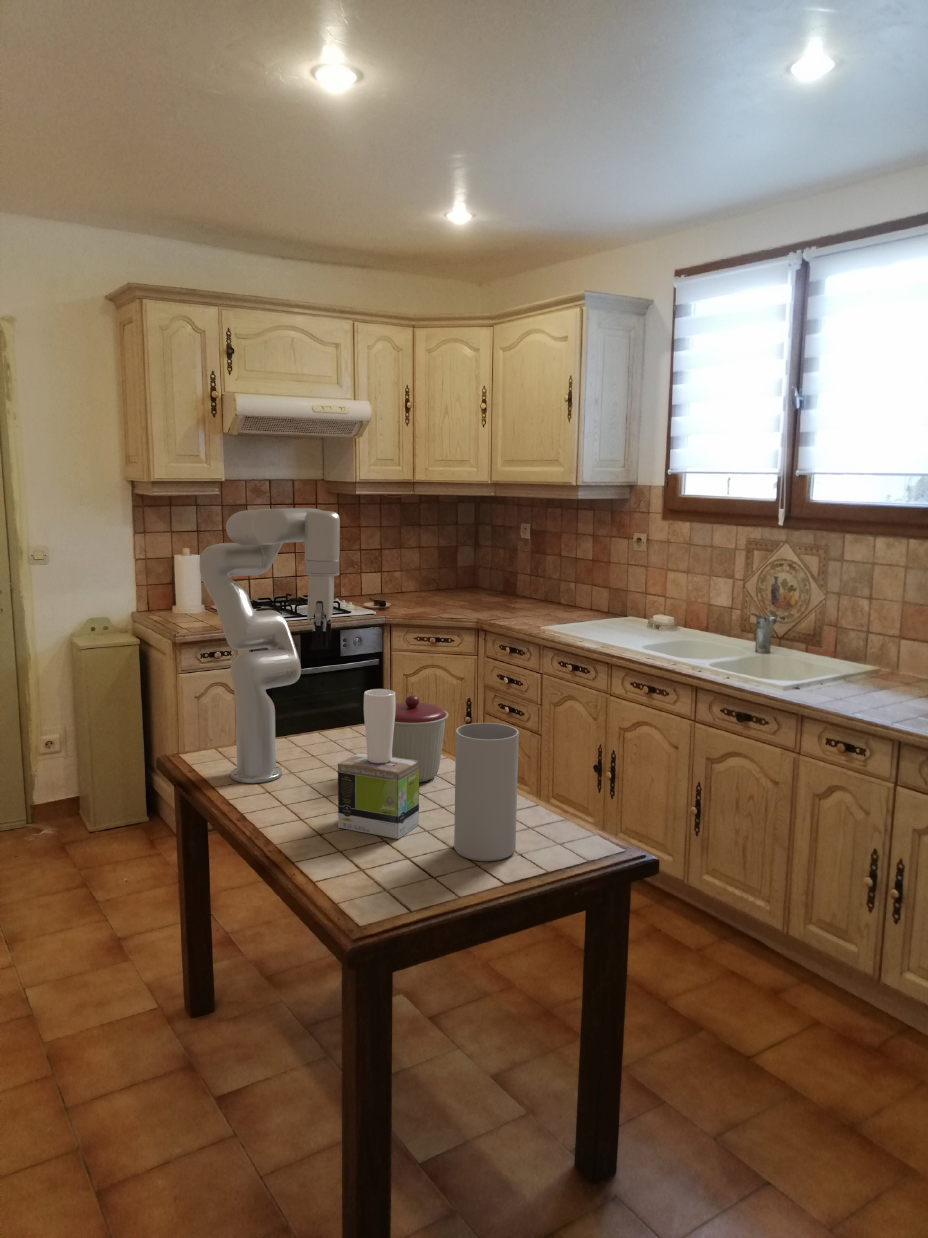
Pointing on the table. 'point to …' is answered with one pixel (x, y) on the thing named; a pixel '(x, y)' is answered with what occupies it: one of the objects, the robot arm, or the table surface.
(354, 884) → the table surface
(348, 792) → the tea box
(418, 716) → the canister
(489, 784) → the cylinder vase
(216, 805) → the table surface
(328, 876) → the table surface
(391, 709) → the white tumbler cup
